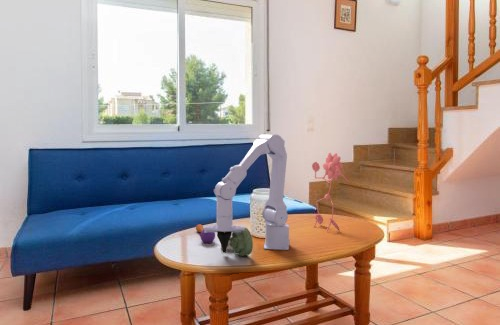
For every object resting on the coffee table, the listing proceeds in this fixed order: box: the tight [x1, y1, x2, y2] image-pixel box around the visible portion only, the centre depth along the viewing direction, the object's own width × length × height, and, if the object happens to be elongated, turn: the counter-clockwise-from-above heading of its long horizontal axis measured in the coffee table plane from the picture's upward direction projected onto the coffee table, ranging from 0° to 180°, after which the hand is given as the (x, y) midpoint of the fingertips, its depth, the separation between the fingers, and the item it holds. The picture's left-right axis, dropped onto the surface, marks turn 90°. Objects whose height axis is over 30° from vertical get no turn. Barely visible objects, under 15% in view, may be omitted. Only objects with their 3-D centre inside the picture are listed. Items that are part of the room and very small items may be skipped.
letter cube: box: [220, 234, 233, 250], centre depth 146 cm, size 5×5×5 cm
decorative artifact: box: [229, 227, 254, 257], centre depth 136 cm, size 10×7×10 cm
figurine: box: [311, 152, 351, 236], centre depth 173 cm, size 15×26×35 cm, turn 28°
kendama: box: [195, 223, 216, 244], centre depth 159 cm, size 6×6×20 cm
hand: (224, 251), depth 137 cm, fingers closed
